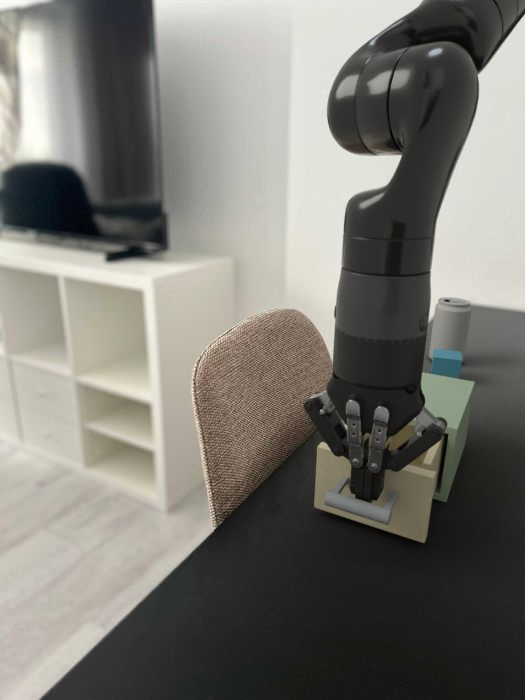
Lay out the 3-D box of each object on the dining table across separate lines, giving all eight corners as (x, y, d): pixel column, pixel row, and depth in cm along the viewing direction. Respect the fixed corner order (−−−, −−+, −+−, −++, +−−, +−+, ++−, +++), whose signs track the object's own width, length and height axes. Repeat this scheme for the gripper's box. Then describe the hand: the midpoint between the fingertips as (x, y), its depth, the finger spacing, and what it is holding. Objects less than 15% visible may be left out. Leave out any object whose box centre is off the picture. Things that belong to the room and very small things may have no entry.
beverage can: (432, 353, 103) (440, 294, 99) (466, 359, 100) (475, 299, 96) (424, 362, 98) (432, 301, 94) (459, 369, 94) (469, 306, 90)
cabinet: (446, 502, 56) (457, 429, 53) (337, 471, 62) (342, 403, 59) (465, 444, 69) (475, 381, 66) (373, 422, 74) (378, 364, 71)
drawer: (413, 574, 45) (423, 504, 43) (295, 532, 50) (298, 468, 48) (448, 474, 60) (457, 418, 58) (355, 449, 65) (359, 397, 63)
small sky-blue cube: (457, 375, 92) (461, 351, 90) (458, 385, 87) (462, 360, 86) (430, 372, 93) (433, 348, 91) (430, 381, 89) (433, 356, 87)
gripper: (471, 322, 43) (445, 497, 48) (323, 302, 49) (315, 461, 54) (457, 348, 36) (429, 546, 42) (289, 322, 42) (284, 499, 48)
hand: (365, 498), depth 48 cm, fingers closed
